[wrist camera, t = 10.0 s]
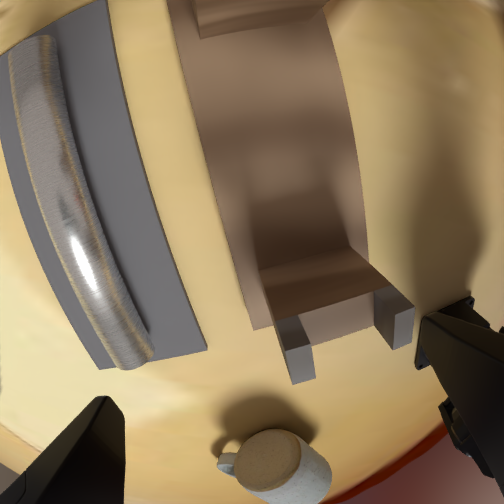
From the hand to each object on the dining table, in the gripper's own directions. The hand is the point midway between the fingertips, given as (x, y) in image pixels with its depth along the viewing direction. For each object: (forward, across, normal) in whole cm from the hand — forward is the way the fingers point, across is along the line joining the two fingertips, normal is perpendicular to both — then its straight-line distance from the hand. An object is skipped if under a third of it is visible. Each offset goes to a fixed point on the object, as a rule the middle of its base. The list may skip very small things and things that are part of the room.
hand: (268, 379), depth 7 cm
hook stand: (+12, -3, -5) cm, 13 cm away
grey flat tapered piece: (+11, +9, -5) cm, 15 cm away
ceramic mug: (+12, +3, +23) cm, 26 cm away
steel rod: (+11, +9, -5) cm, 15 cm away
